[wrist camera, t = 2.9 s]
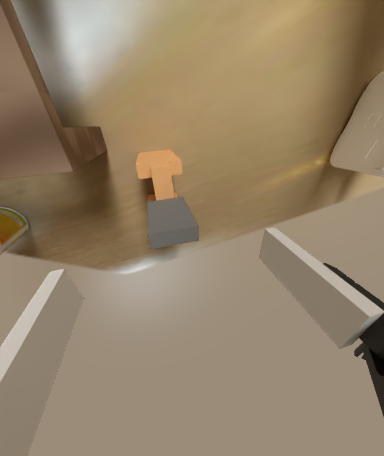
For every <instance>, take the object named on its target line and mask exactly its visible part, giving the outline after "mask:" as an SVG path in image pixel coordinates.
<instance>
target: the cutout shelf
mask: <svg viewBox="0 0 384 456" xmlns="http://www.w3.org/2000/svg"><path fill="white" fill-rule="evenodd" d="M106 150H107V148H106V145H105V141H104V138H103V135H102V132H101V128H100V127H63V126H62V124H61V122H60V119H59V117H58V114H57V112H56V109H55V107H54V105H53V102H52V100H51V97H50V95H49V92H48V90H47V88H46V85H45V83H44V80H43V78H42V75H41V73H40V71H39V68H38V66H37V63H36V61H35V58H34V56H33V54H32V51H31V49H30V46H29V44H28V41H27V39H26V37H25V34H24V32H23V29H22V27H21V24H20V22H19V20H18V17H17V15H16V12H15V10H14V7H13V5H12V2H11V0H0V179H5V178H15V177H24V176H34V175H44V174H53V173H63V172H72V171H75V170H76V169H78V168H79V167H81V166H83V165H84V164H86V163H87V162H89V161H90V160H92V159H94V158H95V157H97V156H98V155H100V154H102V153H103V152H105V151H106Z"/></svg>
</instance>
